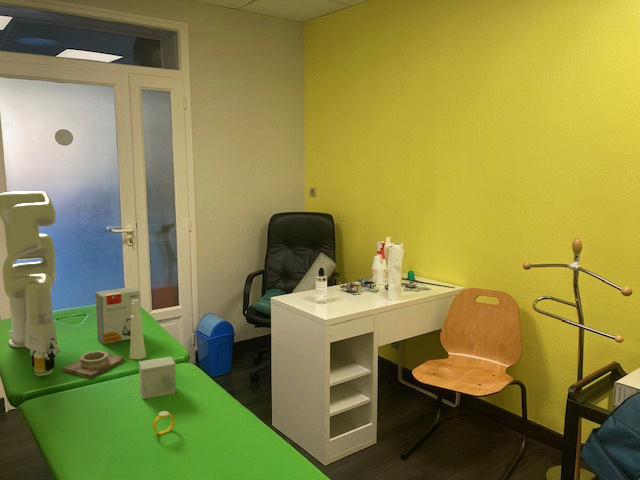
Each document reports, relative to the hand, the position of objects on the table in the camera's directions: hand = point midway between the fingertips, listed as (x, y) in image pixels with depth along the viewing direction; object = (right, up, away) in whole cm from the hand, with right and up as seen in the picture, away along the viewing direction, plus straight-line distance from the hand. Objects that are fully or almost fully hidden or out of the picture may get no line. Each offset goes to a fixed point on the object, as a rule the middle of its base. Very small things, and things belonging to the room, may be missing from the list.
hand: (43, 366), depth 179 cm
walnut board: (+13, -2, +10) cm, 17 cm away
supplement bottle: (0, -2, 0) cm, 2 cm away
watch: (+50, -11, -31) cm, 60 cm away
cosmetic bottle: (+26, -1, +19) cm, 32 cm away
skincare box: (+41, -7, -8) cm, 43 cm away
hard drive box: (+12, +3, +36) cm, 38 cm away
